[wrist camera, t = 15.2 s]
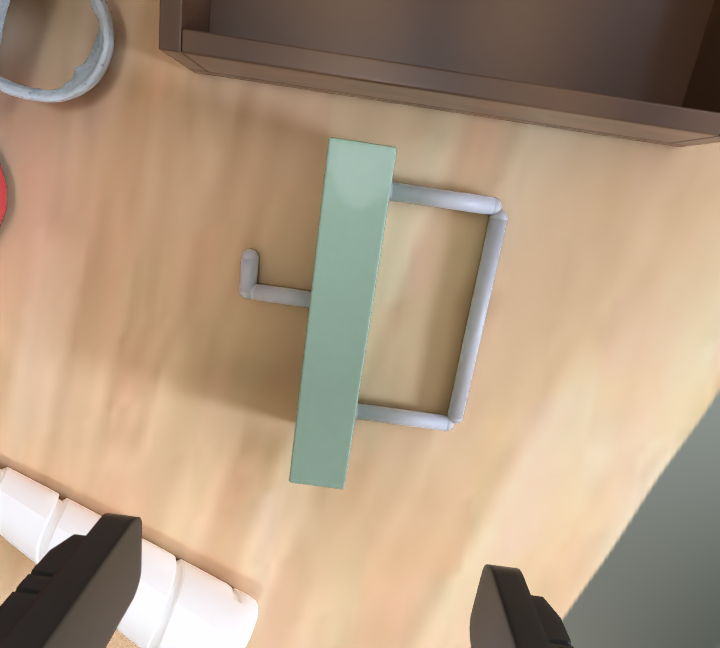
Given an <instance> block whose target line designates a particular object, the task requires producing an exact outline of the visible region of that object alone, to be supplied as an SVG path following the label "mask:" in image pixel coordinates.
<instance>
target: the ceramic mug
mask: <svg viewBox="0 0 720 648" xmlns="http://www.w3.org/2000/svg"><path fill="white" fill-rule="evenodd" d="M90 2H91V4H92V9H93V10H94V12H95V14H96V16H97V18H98V21H99V24H100V28H99V32H98V35H97V38H96V41H95V43H94V46H93V48H92V50H91V53H90V55H89V57H88V59H87V60H86V61H85V63H84V64H83V65H81V66H79V67H77V68H75V71H74V76H73V79H72V80H70V81H69V82H67V83H66V84H65V85H64V86H63V87H62V89H54V90H43V89H40V88H31V87H28V86H25V85H21V84H18V83H14V82H12V81H10V80H8V79H5V78H3V77H1V76H0V91H1V92H3V93H5V94H8V95H10V96H14V97H18V98H23V99H26V100H31V101H39V102H63V101H68V100H71V99H74V98H76V97H79V96H81V95H83V94H85V93H87V92H88V91H89V90H91V89H92V88H93V87H94V86H95V85H96V84H98V83H99V82H100V80H101V79H102V78H103V76H104V74H105V72H106V70H107V68H108V66H109V64H110V61H111V58H112V54H113V48H114V28H113V21H112V17H111V12H110V10H109V7H108V5H107V3H106V1H105V0H90ZM9 4H10V0H0V45H1V40H2V31H3V25H4V21H5V18H6V14H7V9H8V7H9Z"/></svg>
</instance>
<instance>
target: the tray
mask: <svg viewBox="0 0 720 648" xmlns="http://www.w3.org/2000/svg"><path fill="white" fill-rule="evenodd" d="M159 49H160V50H162V51H163V52H165V53H166V54H168V55H169V56H171V57H172V58H174V59H175V60H177V61H178V62H180V63H181V64H183V65H184V66H186V67H187V68H189V69H190V70H192V71H193V72H197V73H203V74H210V75H216V76H223V77H229V78H236V79H242V80H248V81H255V82H261V83H268V84H274V85H281V86H287V87H294V88H300V89H307V90H313V91H320V92H326V93H333V94H339V95H346V96H352V97H359V98H365V99H372V100H378V101H385V102H391V103H398V104H404V105H411V106H417V107H424V108H430V109H437V110H443V111H450V112H456V113H463V114H469V115H476V116H482V117H488V118H495V119H501V120H508V121H514V122H521V123H527V124H534V125H540V126H547V127H553V128H560V129H566V130H573V131H579V132H586V133H592V134H599V135H605V136H612V137H618V138H625V139H631V140H638V141H644V142H651V143H657V144H664V145H670V146H677V147H682V146H691V145H699V144H707V143H715V142H720V0H160V26H159Z"/></svg>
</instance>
